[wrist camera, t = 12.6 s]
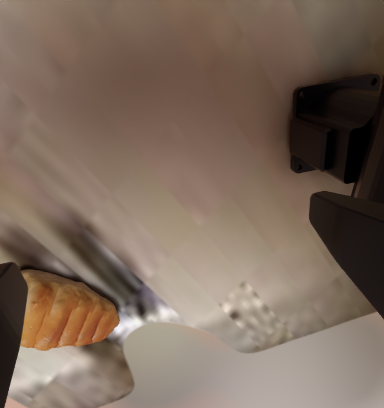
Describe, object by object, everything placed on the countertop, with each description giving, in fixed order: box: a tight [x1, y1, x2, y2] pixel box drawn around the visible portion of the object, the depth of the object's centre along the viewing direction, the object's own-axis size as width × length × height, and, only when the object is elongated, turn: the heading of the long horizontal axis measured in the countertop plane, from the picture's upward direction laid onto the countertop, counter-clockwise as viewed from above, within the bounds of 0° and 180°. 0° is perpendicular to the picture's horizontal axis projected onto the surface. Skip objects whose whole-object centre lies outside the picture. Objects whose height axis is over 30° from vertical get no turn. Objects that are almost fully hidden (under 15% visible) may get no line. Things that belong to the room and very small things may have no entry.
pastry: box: [20, 269, 120, 351], centre depth 24 cm, size 9×7×4 cm
